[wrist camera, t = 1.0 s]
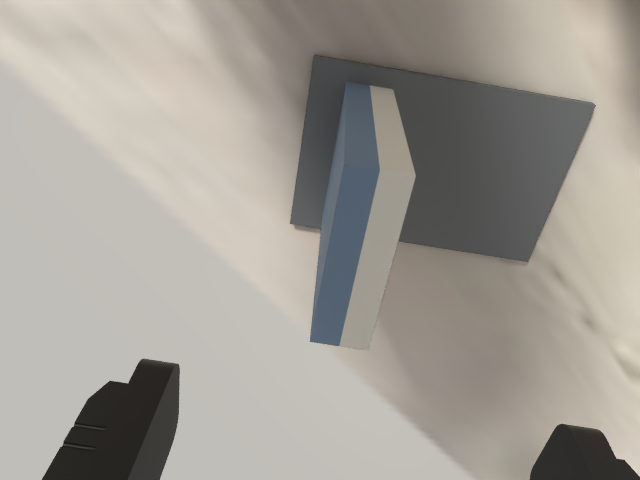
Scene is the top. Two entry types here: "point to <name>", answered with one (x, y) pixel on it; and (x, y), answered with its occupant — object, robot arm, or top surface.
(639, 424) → the top surface
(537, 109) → the mat
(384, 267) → the card deck
